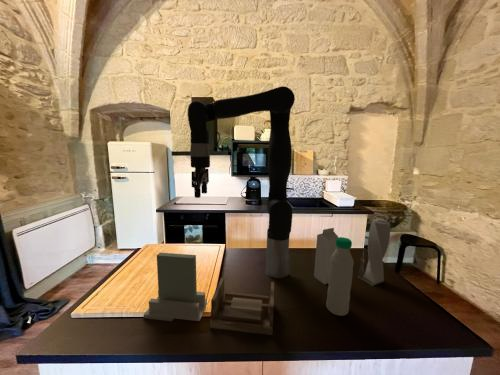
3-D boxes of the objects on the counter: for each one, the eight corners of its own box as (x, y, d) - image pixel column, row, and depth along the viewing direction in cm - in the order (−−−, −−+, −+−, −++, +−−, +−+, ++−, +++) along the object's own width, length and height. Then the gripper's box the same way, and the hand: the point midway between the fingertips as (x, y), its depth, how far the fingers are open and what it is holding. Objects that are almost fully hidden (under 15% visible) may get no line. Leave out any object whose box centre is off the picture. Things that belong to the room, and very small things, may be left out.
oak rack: (222, 299, 78) (222, 275, 76) (273, 304, 76) (274, 280, 74) (210, 331, 64) (210, 302, 62) (272, 338, 62) (273, 309, 60)
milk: (313, 277, 93) (317, 227, 89) (324, 273, 96) (328, 225, 92) (324, 284, 88) (328, 232, 84) (335, 281, 90) (339, 230, 87)
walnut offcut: (225, 313, 69) (225, 305, 69) (263, 317, 68) (263, 309, 67) (221, 324, 65) (221, 315, 65) (262, 329, 64) (262, 320, 63)
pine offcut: (233, 306, 69) (233, 297, 68) (261, 309, 68) (262, 300, 67) (230, 316, 64) (230, 307, 64) (260, 319, 63) (261, 310, 63)
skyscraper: (370, 272, 97) (377, 211, 92) (388, 282, 90) (397, 217, 85) (357, 277, 94) (364, 213, 89) (375, 287, 86) (383, 219, 82)
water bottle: (347, 305, 76) (354, 236, 72) (349, 319, 70) (357, 245, 66) (326, 300, 79) (331, 233, 74) (326, 313, 72) (332, 241, 68)
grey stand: (160, 297, 78) (159, 285, 77) (209, 302, 76) (209, 289, 75) (143, 318, 68) (142, 304, 68) (199, 324, 66) (199, 310, 66)
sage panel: (162, 302, 74) (159, 252, 71) (196, 305, 73) (195, 255, 70) (159, 306, 72) (156, 255, 69) (194, 310, 71) (193, 258, 68)
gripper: (197, 154, 94) (198, 191, 97) (184, 155, 80) (185, 198, 83) (214, 155, 94) (214, 192, 96) (203, 156, 80) (204, 199, 82)
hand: (201, 195), depth 90 cm, fingers open, 8 cm apart
